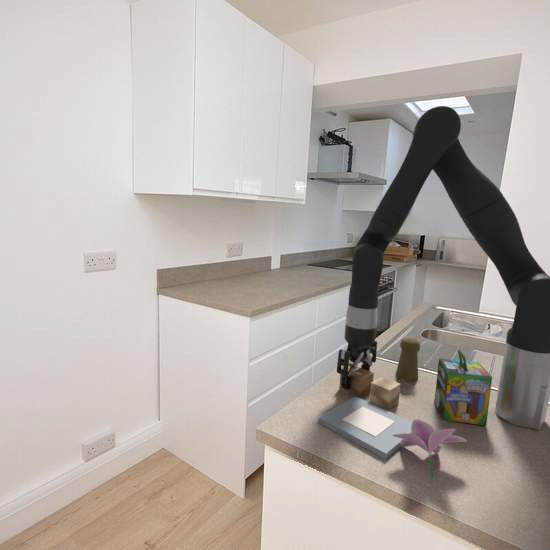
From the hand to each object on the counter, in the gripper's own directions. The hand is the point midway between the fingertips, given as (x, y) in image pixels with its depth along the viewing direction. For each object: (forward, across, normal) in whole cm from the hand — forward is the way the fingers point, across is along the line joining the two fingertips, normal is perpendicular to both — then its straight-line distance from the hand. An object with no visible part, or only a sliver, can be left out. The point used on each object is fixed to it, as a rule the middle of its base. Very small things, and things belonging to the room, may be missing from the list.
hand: (355, 383), depth 94 cm
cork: (+2, +18, -5) cm, 19 cm away
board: (+2, -12, -11) cm, 16 cm away
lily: (+2, -14, -25) cm, 28 cm away
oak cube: (+2, 0, -8) cm, 8 cm away
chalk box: (+2, +9, -22) cm, 24 cm away
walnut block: (+2, 0, 0) cm, 2 cm away
